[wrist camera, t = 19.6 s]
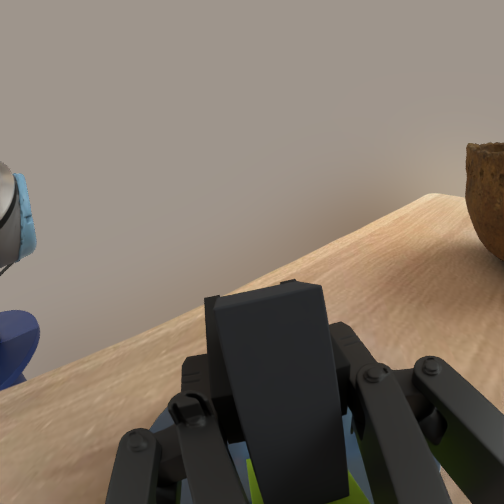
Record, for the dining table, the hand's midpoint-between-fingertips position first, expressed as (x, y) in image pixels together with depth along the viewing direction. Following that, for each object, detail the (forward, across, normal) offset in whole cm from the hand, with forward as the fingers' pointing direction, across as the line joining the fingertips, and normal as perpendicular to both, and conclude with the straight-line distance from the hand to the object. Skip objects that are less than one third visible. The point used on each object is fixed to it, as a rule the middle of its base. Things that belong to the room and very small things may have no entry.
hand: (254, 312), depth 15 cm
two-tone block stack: (-9, 0, -6) cm, 11 cm away
